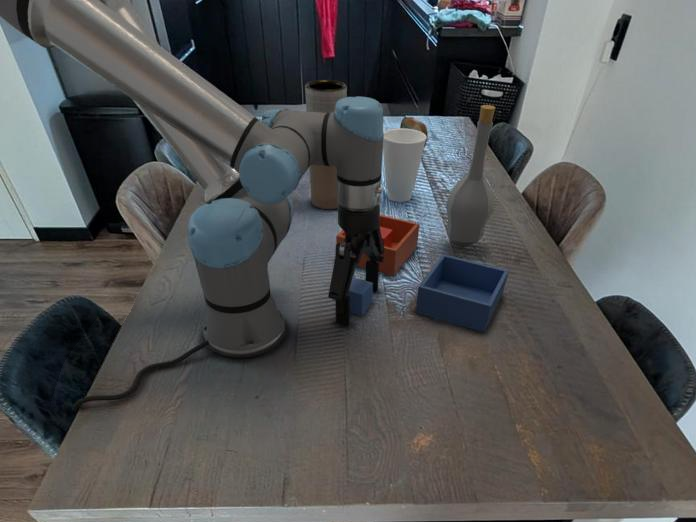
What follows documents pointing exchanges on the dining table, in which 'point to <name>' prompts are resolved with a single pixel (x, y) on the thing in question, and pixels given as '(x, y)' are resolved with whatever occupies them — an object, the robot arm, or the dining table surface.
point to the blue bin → (461, 292)
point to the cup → (402, 161)
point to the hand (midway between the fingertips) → (357, 306)
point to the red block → (386, 236)
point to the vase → (324, 177)
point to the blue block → (360, 296)
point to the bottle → (472, 191)
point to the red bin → (393, 244)
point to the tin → (414, 125)
